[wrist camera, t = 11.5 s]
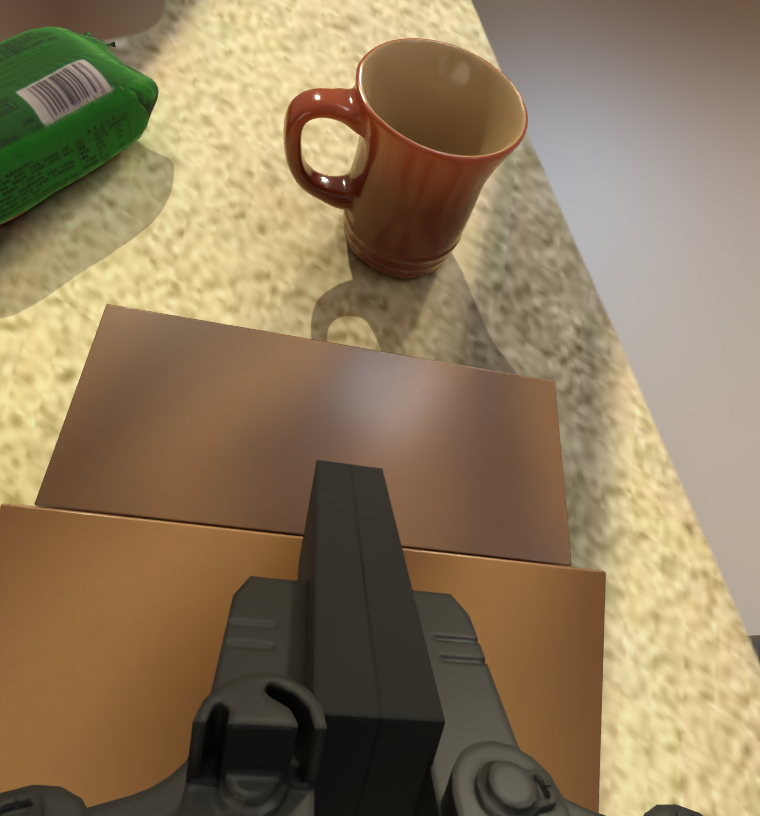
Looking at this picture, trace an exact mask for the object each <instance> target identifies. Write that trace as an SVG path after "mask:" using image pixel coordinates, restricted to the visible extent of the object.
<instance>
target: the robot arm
mask: <svg viewBox="0 0 760 816" xmlns="http://www.w3.org/2000/svg"><path fill="white" fill-rule="evenodd" d="M0 816H605V815H602V814H600V813H597V812H594V811H592V810H589V809H586V808H584V807H582V806H580V805H578V804H575V803H573V802H571V801H569V800H567V799H566V798H564V797H563V796H562V794H561V792H560V791H559V789H558V787H557V785H556V784H555V782H554V780H553V779H552V777H551V775H550V774H549V773H548V772H547V771H546V770H545V769H544V768H543V767H542V766H541V765H540V764H539V763H538V762H537V761H536V760H535V759H534V758H533V757H531V756H530V755H528V754H526V753H524V752H523V751H521V750H520V748H519V746H518V744H517V741H516V739H515V736H514V733H513V731H512V728H511V725H510V723H509V720H508V717H507V715H506V712H505V709H504V707H503V704H502V701H501V699H500V696H499V693H498V691H497V688H496V685H495V683H494V680H493V677H492V675H491V672H490V669H489V667H488V664H485V656H484V653H483V651H482V648H481V645H480V643H478V637H477V635H476V632H475V629H474V627H473V624H472V622H471V619H470V616H469V614H468V613H467V612H466V611H465V610H464V609H463V608H462V606H461V605H460V604H459V603H458V602H457V601H456V600H455V598H454V597H453V596H452V595H451V594H446V593H436V592H426V591H416V590H412V586H411V582H410V578H409V573H408V569H407V565H406V561H405V557H404V553H403V549H402V545H401V541H400V537H399V533H398V529H397V525H396V521H395V517H394V513H393V509H392V505H391V501H390V497H389V493H388V489H387V485H386V481H385V477H384V473H383V469H382V468H375V467H367V466H360V465H353V464H345V463H338V462H331V461H323V460H317V461H316V467H315V472H314V478H313V484H312V490H311V495H310V501H309V507H308V512H307V518H306V524H305V529H304V535H303V541H302V546H301V552H300V558H299V564H298V580H297V581H296V580H285V579H275V578H265V577H255V576H250V577H249V578H248V579H247V580H246V581H245V583H244V584H243V585H242V586H241V587H240V588H239V589H238V590H237V591H236V592H235V594H234V595H233V598H232V602H231V607H230V611H229V615H228V620H227V624H226V628H225V633H224V637H223V642H222V646H221V650H220V654H219V659H218V663H217V667H216V672H215V676H214V680H213V685H212V689H211V693H210V694H209V695H208V696H207V697H206V698H205V699H204V700H203V702H202V704H201V706H200V708H199V710H198V712H197V714H196V716H195V718H194V720H193V723H192V731H191V740H190V748H189V757H188V758H187V760H186V761H185V762H184V763H183V764H182V765H181V766H180V767H179V768H178V769H177V770H176V771H175V772H174V773H173V774H171V775H170V776H169V777H167V778H166V779H164V780H162V781H161V782H159V783H158V784H156V785H154V786H153V787H151V788H148V789H146V790H143V791H141V792H138V793H135V794H133V795H130V796H127V797H123V798H119V799H116V800H112V801H109V802H105V803H102V804H98V805H95V806H91V807H88V808H87V807H86V805H85V803H84V801H83V800H82V798H80V797H78V796H77V795H75V794H73V793H71V792H70V791H68V790H66V789H64V788H63V787H60V786H46V785H29V786H25V787H21V788H18V789H14V790H10V791H6V792H2V793H0ZM644 816H703V815H701V814H700V813H698V812H695V811H692V810H690V809H687V808H684V807H681V806H679V805H656V806H655V807H653V808H652V809H650V810H649V811H648V812H646V813H645V814H644Z"/></svg>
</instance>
